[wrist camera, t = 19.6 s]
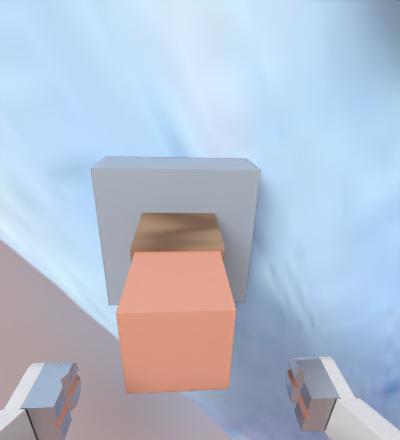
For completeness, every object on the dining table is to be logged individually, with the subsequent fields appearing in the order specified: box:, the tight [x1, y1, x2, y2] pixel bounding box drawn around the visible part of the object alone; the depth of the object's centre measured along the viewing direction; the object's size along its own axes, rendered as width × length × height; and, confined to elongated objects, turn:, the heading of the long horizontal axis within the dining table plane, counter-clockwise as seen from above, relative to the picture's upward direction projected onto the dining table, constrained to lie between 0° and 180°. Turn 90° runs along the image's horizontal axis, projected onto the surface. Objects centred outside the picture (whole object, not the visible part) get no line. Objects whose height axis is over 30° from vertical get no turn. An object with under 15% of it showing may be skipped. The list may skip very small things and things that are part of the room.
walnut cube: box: [130, 213, 225, 263], centre depth 18 cm, size 5×5×5 cm
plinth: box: [91, 156, 261, 305], centre depth 22 cm, size 11×11×4 cm
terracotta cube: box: [116, 251, 236, 394], centre depth 13 cm, size 4×4×4 cm
